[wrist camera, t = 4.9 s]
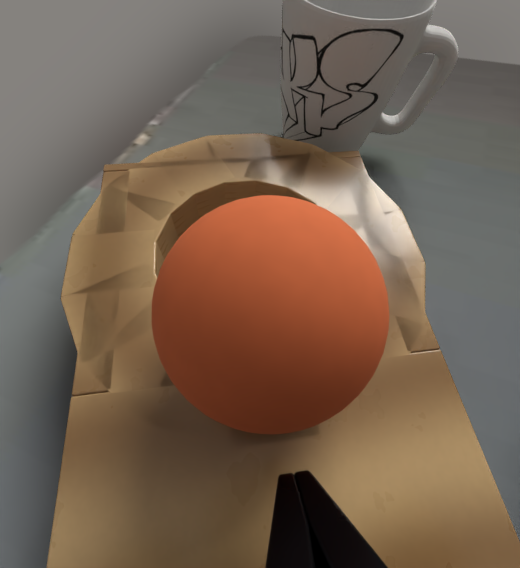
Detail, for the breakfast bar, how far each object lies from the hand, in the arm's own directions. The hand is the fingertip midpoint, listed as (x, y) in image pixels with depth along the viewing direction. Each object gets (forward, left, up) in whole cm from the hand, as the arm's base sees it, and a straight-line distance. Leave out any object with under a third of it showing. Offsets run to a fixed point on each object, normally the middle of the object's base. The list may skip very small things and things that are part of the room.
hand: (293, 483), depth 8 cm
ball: (+5, +1, +1) cm, 5 cm away
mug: (+23, -6, -7) cm, 25 cm away
